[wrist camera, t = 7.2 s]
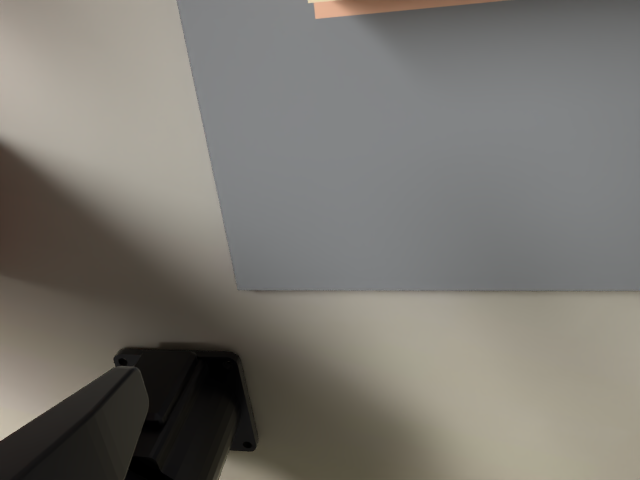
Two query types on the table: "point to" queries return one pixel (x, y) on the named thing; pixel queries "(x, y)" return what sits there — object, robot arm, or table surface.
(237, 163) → the mat
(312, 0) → the t block
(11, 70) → the table surface
